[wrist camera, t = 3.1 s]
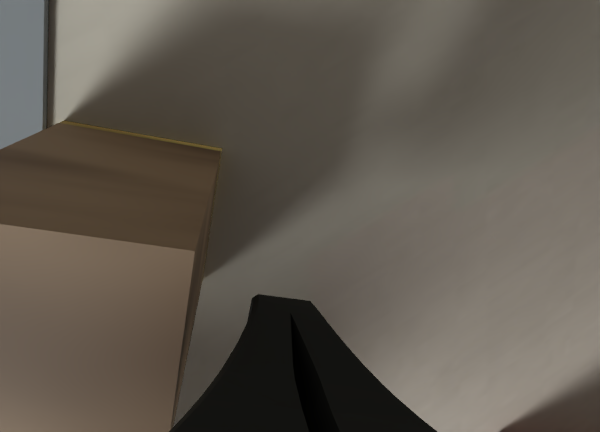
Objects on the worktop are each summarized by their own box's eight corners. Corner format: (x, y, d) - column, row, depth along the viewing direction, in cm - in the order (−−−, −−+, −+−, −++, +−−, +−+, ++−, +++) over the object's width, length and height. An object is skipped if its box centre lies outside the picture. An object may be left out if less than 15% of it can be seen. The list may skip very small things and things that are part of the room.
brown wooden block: (202, 279, 17) (165, 463, 10) (59, 260, 16) (-99, 445, 9) (221, 148, 16) (194, 250, 8) (64, 120, 15) (-127, 206, 7)
